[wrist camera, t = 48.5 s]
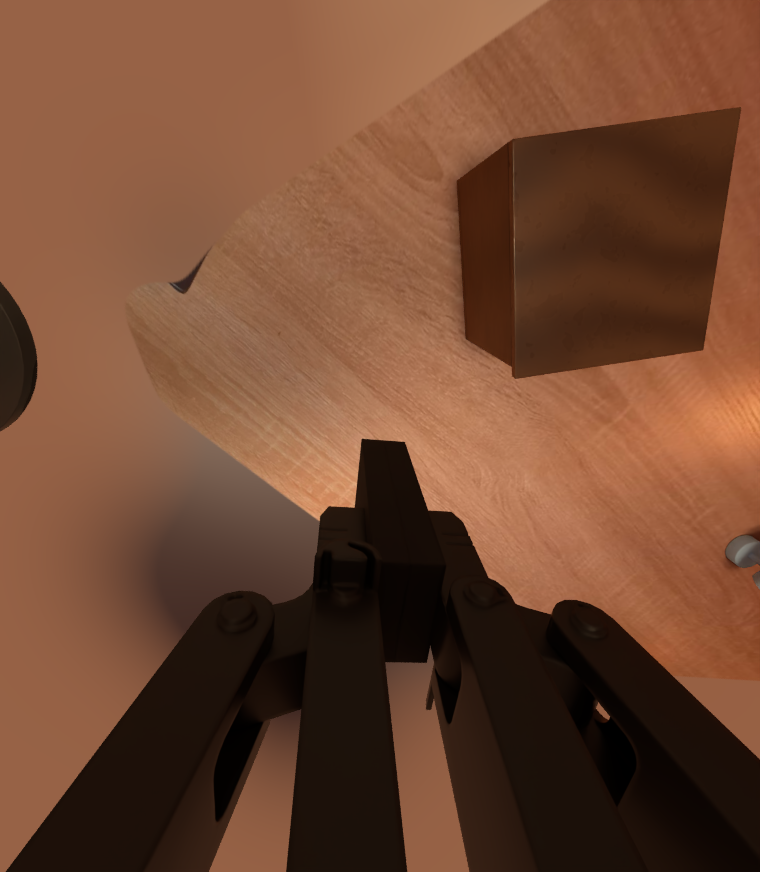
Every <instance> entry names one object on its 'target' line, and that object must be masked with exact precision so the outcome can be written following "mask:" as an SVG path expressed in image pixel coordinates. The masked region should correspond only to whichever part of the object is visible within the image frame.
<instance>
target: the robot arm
mask: <svg viewBox="0 0 760 872" xmlns="http://www.w3.org/2000/svg"><path fill="white" fill-rule="evenodd" d="M319 526H320V527H319V536H318V546H317V553H316V555H315V562H314V577H313V584H312V585H311V586H310V588H309V590H307V591H306V592H305V593H304V594H303V595H301V596H299V597H297V598H296V599H293V600H290V601H287V602H284V603H279V604H274V605H272V603H271V602H270V601H269V600H268V599H267V598H266V597H265V596H263V595H261V594H258V593H255V592H250V591H236V592H232V593H227V594H224V595H222V596H220V597H218V598H216V599H214V600H213V601H212V602H211V603H209V605H207V606H206V607H205V608H204V609H203V610H202V612H201V613H200V614H199V616H198V617H197V618H196V620H195V621H194V622H193V624H192V625H191V626H190V628H189V629H188V630H187V632H186V633H185V634H184V636H183V637H182V638H181V640H180V641H179V642H178V644H177V645H176V646H175V647H174V649H173V650H172V652H171V653H170V654H169V656H168V657H167V658H166V660H165V661H164V662H163V664H162V665H161V666H160V667H159V669H158V670H157V671H156V673H155V674H154V676H153V677H152V678H151V679H150V681H149V682H148V683H147V685H146V686H145V687H144V689H143V690H142V691H141V693H140V694H139V695H138V697H137V698H136V699H135V701H134V702H133V704H132V705H131V706H130V707H129V709H128V710H127V711H126V713H125V714H124V715H123V717H122V718H121V719H120V721H119V722H118V723H117V725H116V726H115V727H114V729H113V730H112V731H111V733H110V734H109V735H108V737H107V738H106V739H105V741H104V742H103V743H102V745H101V746H100V747H99V749H98V750H97V751H96V753H95V754H94V755H93V756H92V758H91V759H90V760H89V762H88V763H87V764H86V766H85V767H84V768H83V770H82V771H81V773H80V774H79V775H78V776H77V778H76V779H75V780H74V782H73V783H72V785H71V786H70V787H69V788H68V790H67V791H66V792H65V794H64V795H63V796H62V798H61V799H60V800H59V802H58V803H57V804H56V806H55V807H54V808H53V810H52V811H51V812H50V814H49V815H48V816H47V818H46V819H45V820H44V822H43V823H42V824H41V826H40V827H39V828H38V830H37V831H36V832H35V834H34V835H33V836H32V838H31V839H30V840H29V841H28V843H27V844H26V845H25V847H24V848H23V849H22V851H21V852H20V853H19V855H18V856H17V858H16V859H15V860H14V861H13V863H12V864H11V866H10V867H9V868H8V869H7V871H6V872H209V870H210V867H211V865H212V862H213V860H214V858H215V855H216V853H217V850H218V848H219V845H220V843H221V840H222V838H223V836H224V833H225V831H226V828H227V826H228V823H229V821H230V818H231V816H232V814H233V811H234V809H235V806H236V804H237V802H238V799H239V797H240V794H241V792H242V789H243V787H244V784H245V782H246V780H247V777H248V775H249V772H250V770H251V768H252V765H253V763H254V760H255V758H256V755H257V753H258V751H259V748H260V746H261V743H262V740H263V738H264V736H265V733H266V731H267V728H268V726H269V724H270V719H272V718H275V717H278V716H281V715H284V714H287V713H291V712H294V711H296V710H300V709H301V720H300V730H299V741H298V752H297V763H296V773H295V784H294V795H293V805H292V816H291V826H290V838H289V848H288V858H287V870H286V872H407V865H406V857H405V846H404V837H403V828H402V818H401V808H400V799H399V789H398V781H397V770H396V762H395V751H394V742H393V732H392V723H391V714H390V704H389V694H388V686H387V676H386V666H385V662H413V663H415V662H416V663H417V662H418V663H427V659H428V654H429V649H430V646H431V650H432V655H433V659H434V666H433V671H432V676H431V681H430V685H429V690H428V694H427V699H426V709H427V710H431V707H432V703H433V699H434V700H435V705H436V710H437V715H438V719H439V724H440V729H441V734H442V739H443V744H444V749H445V754H446V759H447V763H448V769H449V773H450V778H451V783H452V788H453V793H454V798H455V802H456V807H457V812H458V818H459V822H460V827H461V832H462V837H463V842H464V847H465V852H466V856H467V862H468V867H469V872H760V759H759V758H757V756H756V755H754V754H753V753H752V752H751V751H750V750H749V749H748V748H747V747H746V746H745V745H744V744H743V743H742V742H741V741H740V740H739V739H738V738H737V737H736V736H735V735H734V734H733V733H732V732H730V731H729V730H728V729H727V728H726V727H725V726H724V725H723V724H722V723H721V722H720V721H719V720H718V719H717V718H716V717H715V716H714V715H713V714H712V713H711V712H710V711H709V710H708V709H706V707H704V706H703V705H702V704H701V703H700V702H699V701H698V700H697V699H696V698H695V697H694V696H693V695H692V694H691V693H690V692H689V691H688V690H687V689H686V688H685V687H684V686H683V685H682V684H680V683H679V682H678V681H677V680H676V679H675V678H674V677H673V676H672V675H671V674H670V673H669V672H668V671H667V670H666V669H665V668H664V667H663V666H662V665H661V664H660V663H659V662H658V661H657V660H655V659H654V658H653V657H652V656H651V655H650V654H649V653H648V652H647V651H646V650H645V649H644V648H643V647H642V646H641V645H640V644H639V643H638V642H637V641H636V640H635V639H634V638H633V637H631V636H630V635H629V634H628V633H627V632H626V631H625V630H624V629H623V628H622V627H621V626H620V625H619V624H618V623H617V622H616V621H615V620H614V619H613V618H611V617H610V616H609V615H608V614H606V613H605V612H604V611H602V610H601V609H599V608H597V607H595V606H593V605H591V604H589V603H585V602H581V601H577V600H564V601H561V602H559V603H557V604H556V605H555V607H554V609H553V611H552V614H547V613H543V612H540V611H536V610H532V609H529V608H525V607H523V606H520V605H517V604H515V602H514V600H513V598H512V596H511V595H510V594H509V593H508V591H507V590H506V589H505V588H504V587H503V586H502V585H500V584H499V583H498V582H496V581H494V580H492V579H490V578H488V576H487V573H486V571H485V569H484V567H483V565H482V563H481V560H480V558H479V556H478V554H477V552H476V549H475V547H474V546H473V543H472V541H471V539H470V536H468V532H467V530H466V528H465V526H464V523H463V522H462V521H461V520H460V519H459V518H458V517H457V516H455V515H454V514H453V513H452V512H444V511H428V509H427V506H426V503H425V500H424V497H423V494H422V491H421V488H420V485H419V483H418V480H417V477H416V474H415V471H414V468H413V465H412V462H411V459H410V456H409V453H408V450H407V447H406V444H405V442H397V441H384V440H370V439H362V442H361V452H360V461H359V471H358V481H357V491H356V501H355V508H349V507H331V506H329V507H328V508H327V509H326V510H325V511H324V513H323V514H322V515H321V516H320V525H319ZM598 702H599V703H600V705H601V706H602V707H603V708H604V710H605V711H606V712H607V713H608V714H609V716H610V719H609V720H607V719H605V718H604V717H603V716H602V715H601V714H600V713H599V712H598V711H597V709H596V706H597V704H598Z"/></svg>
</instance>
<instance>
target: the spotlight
mask: <svg viewBox="0 0 760 872" xmlns="http://www.w3.org/2000/svg"><path fill="white" fill-rule="evenodd" d="M725 553H726V557H727V558H728V559H729V560H731V561H732V562H733V563H735V564H736V565H737V566H739V567H742V568H747V567H751V566H753V565H755V564H759V565H760V542H759V541H758V540H756V539H755V538H753V537H752V536H749V535H743V536H739V537H737V538H735V539H734V540H732V541H731V542H730V543H729V545H728V546H727V548H726V552H725ZM752 577H753V580H754V582H755V584H756V585H757V586H758V588H759V589H760V571H759V572H757V573H755V574H754V575H753V576H752Z"/></svg>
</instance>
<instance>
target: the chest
mask: <svg viewBox="0 0 760 872" xmlns="http://www.w3.org/2000/svg"><path fill="white" fill-rule="evenodd" d="M508 143H509V142H508ZM508 143H507V144H506V145H504V146H503V147H501V148H500V149H499V150H497V151H496V152H495V153H493V154H492V155H491V156H489V157H488V158H487V159H485V160H484V161H483V162H481V163H480V164H479V165H477V166H476V167H475V168H473V169H472V170H471V171H469V172H468V173H467V174H465V175H464V176H463V177H461V178H460V179H459V180H457V194H458V211H459V229H460V246H461V264H462V281H463V299H464V316H465V334H466V339H467V340H469V341H470V342H472V343H474V344H475V345H477V346H479V347H480V348H482V349H483V350H485V351H487V352H488V353H490V354H492V355H493V356H495V357H497V358H498V359H500V360H501V361H503V362H505V363H506V364H508V365H510V366H511V367H512V340H511V277H510V213H509V149H508Z"/></svg>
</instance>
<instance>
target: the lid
mask: <svg viewBox="0 0 760 872" xmlns="http://www.w3.org/2000/svg"><path fill="white" fill-rule="evenodd" d="M740 112H741V107H738V108H731V109H723V110H716V111H709V112H702V113H695V114H688V115H681V116H674V117H666V118H659V119H652V120H645V121H638V122H631V123H624V124H617V125H609V126H602V127H595V128H588V129H581V130H574V131H567V132H560V133H553V134H545V135H538V136H531V137H524V138H517V139H512V140H511V141H510V142H509V143H508V149H509V213H510V277H511V340H512V377H514V378H515V379H517V378H524V377H530V376H537V375H544V374H550V373H557V372H563V371H570V370H576V369H583V368H590V367H596V366H603V365H609V364H616V363H622V362H629V361H635V360H642V359H649V358H655V357H662V356H668V355H675V354H681V353H688V352H695V351H701V350H703V348H704V342H705V336H706V329H707V323H708V316H709V310H710V304H711V297H712V291H713V284H714V278H715V272H716V265H717V259H718V253H719V246H720V240H721V233H722V227H723V221H724V214H725V208H726V201H727V195H728V189H729V182H730V176H731V170H732V163H733V157H734V150H735V144H736V138H737V131H738V125H739V119H740Z"/></svg>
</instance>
